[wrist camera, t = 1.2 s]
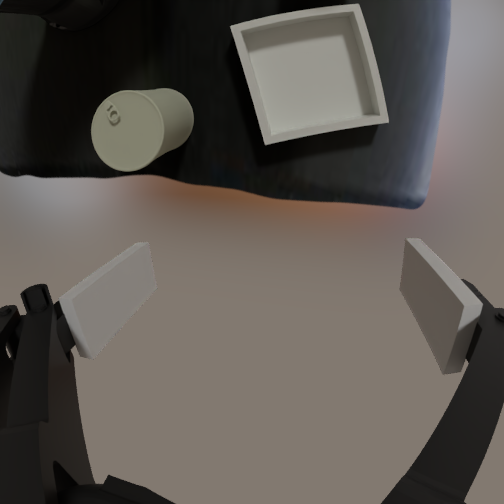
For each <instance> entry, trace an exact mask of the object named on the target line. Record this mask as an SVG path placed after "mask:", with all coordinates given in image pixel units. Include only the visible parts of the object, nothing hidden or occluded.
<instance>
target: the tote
mask: <svg viewBox="0 0 504 504" xmlns="http://www.w3.org/2000/svg"><path fill="white" fill-rule="evenodd" d="M230 28H231V31H232V34H233V37H234V40H235V43H236V47H237V50H238V53H239V56H240V60H241V63H242V66H243V70H244V73H245V76H246V80H247V83H248V87H249V90H250V93H251V97H252V100H253V104H254V107H255V111H256V114H257V118H258V121H259V125H260V129H261V132H262V136H263V140H264V143H265V145H268V144H272V143H276V142H281V141H285V140H290V139H295V138H299V137H304V136H309V135H314V134H320V133H325V132H330V131H336V130H342V129H348V128H354V127H360V126H367V125H374V124H381V123H388V122H389V120H388V114H387V109H386V104H385V99H384V94H383V89H382V84H381V80H380V76H379V71H378V67H377V63H376V59H375V56H374V52H373V48H372V45H371V41H370V38H369V34H368V31H367V27H366V24H365V21H364V18H363V15H362V12H361V9H360V6H359V4H351V5H339V6H329V7H321V8H314V9H307V10H300V11H294V12H289V13H283V14H278V15H273V16H269V17H264V18H260V19H256V20H252V21H248V22H244V23H240V24H236V25H233V26H230Z"/></svg>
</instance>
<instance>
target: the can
mask: <svg viewBox="0 0 504 504" xmlns="http://www.w3.org/2000/svg"><path fill="white" fill-rule="evenodd" d="M193 123H194V115H193V110H192V107H191V105H190V103H189V101H188V100H187V99H186V98H185V97H184V96H183V95H182V94H181V93H179V92H177V91H175V90H172V89H166V88H162V89H156V90H143V91H133V90H125V91H120V92H117V93H115V94H113V95H111V96H109V97H108V98H107V99H105V100H104V101H103V102H102V103H101V105H100V106H99V107H98V109H97V111H96V113H95V115H94V118H93V121H92V128H91V135H92V142H93V145H94V148H95V150H96V152H97V154H98V155H99V157H100V158H101V159H102V160H103V161H104V162H105V163H106V164H107V165H108V166H110V167H112V168H114V169H116V170H119V171H127V172H128V171H136V170H139V169H141V168H143V167H145V166H147V165H148V164H150V163H151V162H152V161H153V160H155V159H156V158H158V157H159V156H161V155H163V154H164V153H166V152H168V151H170V150H173V149H175V148H177V147H179V146H180V145H182V144H183V143H184V142H185V141H186V140H187V138H188V137H189V135H190V133H191V131H192V128H193Z"/></svg>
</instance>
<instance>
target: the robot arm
mask: <svg viewBox="0 0 504 504" xmlns="http://www.w3.org/2000/svg"><path fill="white" fill-rule="evenodd" d="M118 1H119V0H0V13H16V14H29V15H38V16H39V17H41V18H42V19H43V20H45V21H46V22H47V23H49V24H50V25H51V26H53V27H54V28H57V29H60V30H66V31H79V30H83V29H86V28H88V27H90V26H92V25H94V24H96V23H97V22H99V21H100V20H101V19H103V18H104V17H105V16H106V15H107V14H108V13H109V12H110V11H111V10H112V9H113V8H114V7H115V5H116V4H117V3H118ZM156 290H157V284H156V279H155V274H154V269H153V264H152V259H151V253H150V247H149V242H137V243H135V244H134V245H132V246H131V247H129V248H128V249H126V250H125V251H123V252H122V253H120V254H119V255H118V256H116V257H115V258H113V259H112V260H110V261H109V262H108V263H106V264H105V265H103V266H102V267H101V268H99V269H98V270H96V271H95V272H93V273H92V274H91V275H89V276H88V277H86V278H85V279H84V280H82V281H81V282H80V283H78V284H77V285H76V286H74V287H73V288H72V289H70V290H69V291H68V292H66V293H65V294H63V295H62V296H61V297H60V298H59V301H57V302H56V303H55V304H54V305H53V302H52V299H51V296H50V293H49V290H48V287H47V285H46V284H37V285H34V286H31V287H29V288H27V289H25V290H24V291H23V292H22V293H21V294H20V295H21V298H22V300H23V304H24V306H25V309H26V312H27V314H26V315H20V314H19V311H18V309H17V306H15V305H9V306H7V305H6V306H4V307H2V308H0V504H175V503H173V502H171V501H169V500H167V499H165V498H163V497H162V496H160V495H158V494H156V493H154V492H152V491H151V490H149V489H147V488H146V487H143V486H139V485H136V484H132V483H130V482H127V481H124V480H121V479H119V478H116V477H113V476H110V475H108V476H107V478H106V480H105V482H104V484H95V481H94V479H93V475H92V471H91V467H90V463H89V459H88V454H87V449H86V445H85V440H84V435H83V429H82V423H81V417H80V410H79V403H78V396H77V389H76V388H77V387H76V379H75V367H74V357H73V354H72V352H71V349H72V347H74V346H75V345H76V347H77V350H78V352H79V355H80V356H81V357H85V358H89V359H94V358H95V357H96V356H97V355H98V354H99V353H100V352H101V350H102V349H103V348H104V347H105V346H106V345H107V344H108V343H109V341H110V340H111V339H112V338H113V337H114V336H115V335H116V333H117V332H118V331H119V330H120V329H121V328H122V327H123V326H124V325H125V323H126V322H127V321H128V320H129V319H130V318H131V317H132V316H133V315H134V313H135V312H136V311H137V310H138V309H139V308H140V307H141V306H142V305H143V304H144V303H145V302H146V300H147V299H148V298H149V297H150V296H151V295H152V294H153V293H154V292H155V291H156ZM400 291H401V292H402V294H403V296H404V298H405V300H406V302H407V304H408V305H409V307H410V309H411V311H412V313H413V315H414V317H415V318H416V320H417V322H418V324H419V326H420V328H421V330H422V332H423V334H424V336H425V338H426V340H427V342H428V344H429V346H430V348H431V350H432V352H433V354H434V356H435V359H436V361H437V363H438V365H439V367H440V369H441V371H442V374H451V373H457V372H461V370H462V367H463V365H464V362H465V359H467V361H468V363H469V364H468V367H467V369H466V371H465V373H464V376H463V378H462V380H461V382H460V384H459V386H458V388H457V390H456V392H455V394H454V396H453V398H452V400H451V402H450V404H449V406H448V408H447V409H446V411H445V413H444V415H443V417H442V419H441V420H440V422H439V424H438V425H437V427H436V429H435V431H434V432H433V434H432V435H431V437H430V439H429V440H428V442H427V444H426V445H425V447H424V448H423V450H422V451H421V453H420V455H419V456H418V457H417V459H416V460H415V462H414V463H413V464H412V466H411V467H410V469H409V470H408V471H407V473H406V474H405V475H404V476H403V477H402V478H401V480H400V481H399V482H398V483H397V484H396V486H395V487H394V488H393V489H392V491H391V492H390V493H389V494H388V496H387V497H386V498H385V499H384V501H383V502H382V503H381V504H466V503H465V502H464V500H465V497H466V495H467V493H468V491H469V489H470V487H471V485H472V483H473V481H474V479H475V477H476V475H477V472H478V470H479V468H480V466H481V464H482V461H483V459H484V457H485V454H486V452H487V449H488V447H489V444H490V442H491V439H492V436H493V433H494V431H495V428H496V425H497V422H498V419H499V416H500V413H501V409H502V406H503V403H504V309H503V308H494V307H493V306H492V305H491V304H490V303H489V301H488V300H487V299H486V298H485V297H484V296H483V295H482V294H481V293H480V292H479V291H478V290H477V289H476V288H475V286H474V285H473V284H471V283H469V282H468V281H466V280H464V279H460V278H459V277H458V276H457V275H456V274H455V273H454V272H453V271H452V270H451V269H450V268H449V267H448V266H447V265H446V264H445V263H444V262H443V261H442V260H441V259H440V258H439V257H438V256H437V255H436V254H435V253H434V252H433V251H432V250H431V249H430V248H429V247H428V246H427V245H426V244H425V243H424V242H422V240H420V239H419V238H406V239H405V248H404V258H403V268H402V275H401V283H400ZM6 346H7V349H8V351H9V353H10V355H11V357H10V358H9V356H8V355H7V351H6Z"/></svg>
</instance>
